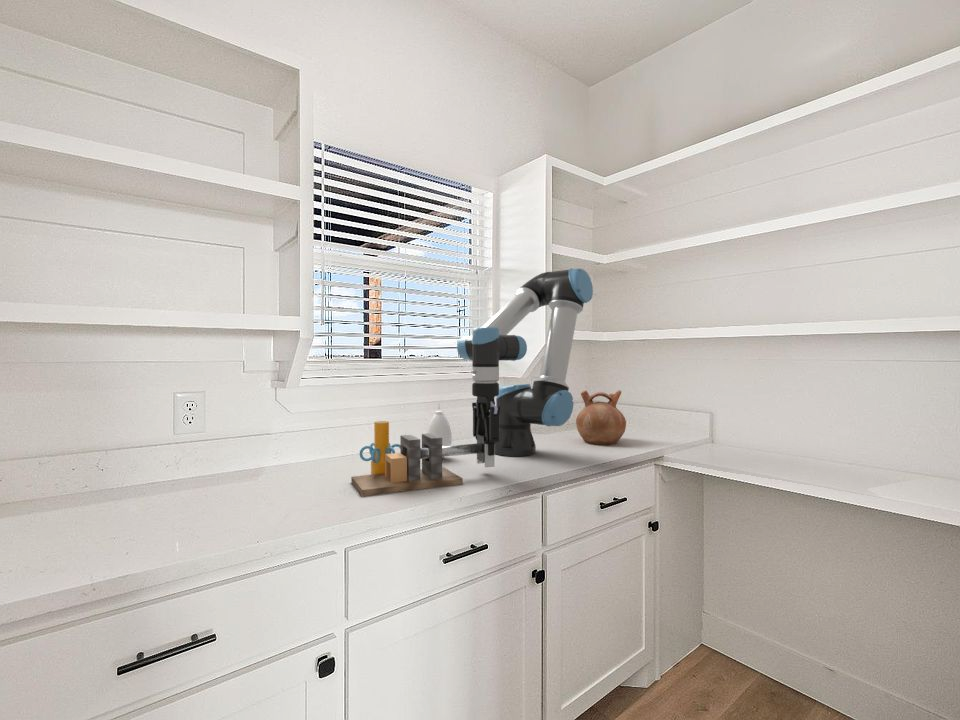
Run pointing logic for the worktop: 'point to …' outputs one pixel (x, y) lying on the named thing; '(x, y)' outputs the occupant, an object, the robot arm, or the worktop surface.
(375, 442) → the cylinder
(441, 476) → the jig
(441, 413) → the sauce bottle
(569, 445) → the worktop surface
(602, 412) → the jug
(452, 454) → the shaft
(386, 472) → the block
